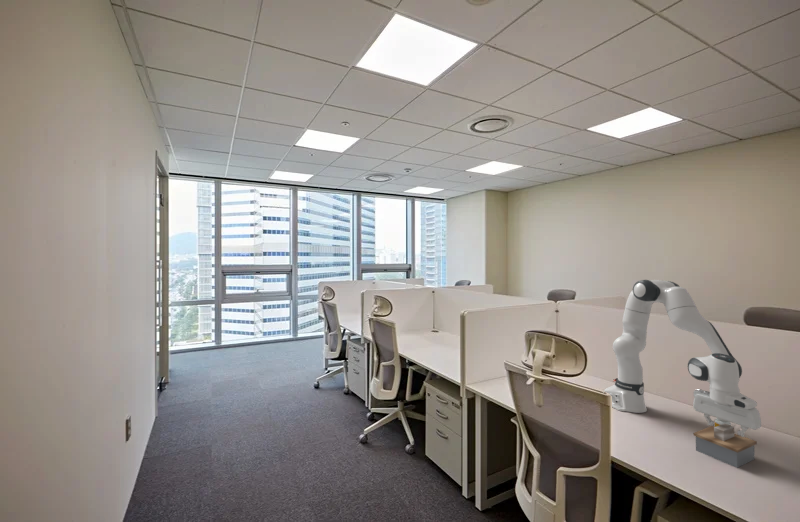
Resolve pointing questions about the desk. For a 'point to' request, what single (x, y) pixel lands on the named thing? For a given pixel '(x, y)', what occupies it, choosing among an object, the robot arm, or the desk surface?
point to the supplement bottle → (721, 422)
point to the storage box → (725, 453)
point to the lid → (725, 437)
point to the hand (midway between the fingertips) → (725, 430)
